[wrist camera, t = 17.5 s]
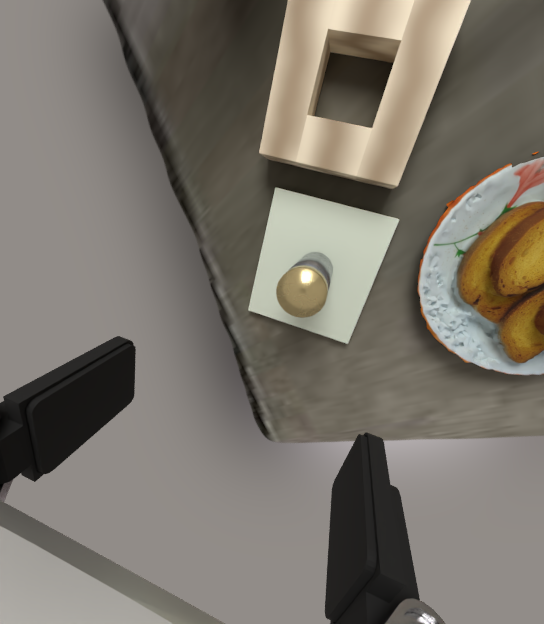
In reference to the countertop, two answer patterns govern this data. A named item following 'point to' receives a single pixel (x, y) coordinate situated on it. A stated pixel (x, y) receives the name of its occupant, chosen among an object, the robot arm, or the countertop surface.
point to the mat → (331, 242)
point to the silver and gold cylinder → (305, 285)
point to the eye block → (367, 44)
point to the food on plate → (490, 272)
